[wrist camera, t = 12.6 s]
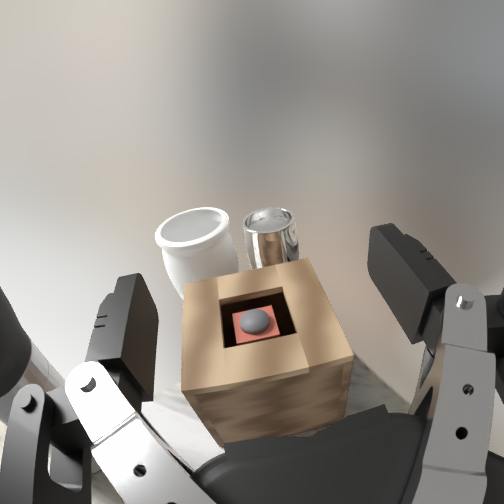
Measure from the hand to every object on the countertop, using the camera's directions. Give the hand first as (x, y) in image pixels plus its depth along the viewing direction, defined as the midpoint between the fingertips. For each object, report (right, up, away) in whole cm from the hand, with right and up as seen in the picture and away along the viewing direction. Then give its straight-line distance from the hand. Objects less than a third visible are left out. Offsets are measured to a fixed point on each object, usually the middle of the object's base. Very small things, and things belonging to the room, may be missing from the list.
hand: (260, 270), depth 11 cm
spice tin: (+2, -15, +25) cm, 30 cm away
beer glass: (+4, -8, +37) cm, 38 cm away
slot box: (+2, -16, +26) cm, 30 cm away
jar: (-6, -8, +40) cm, 41 cm away
